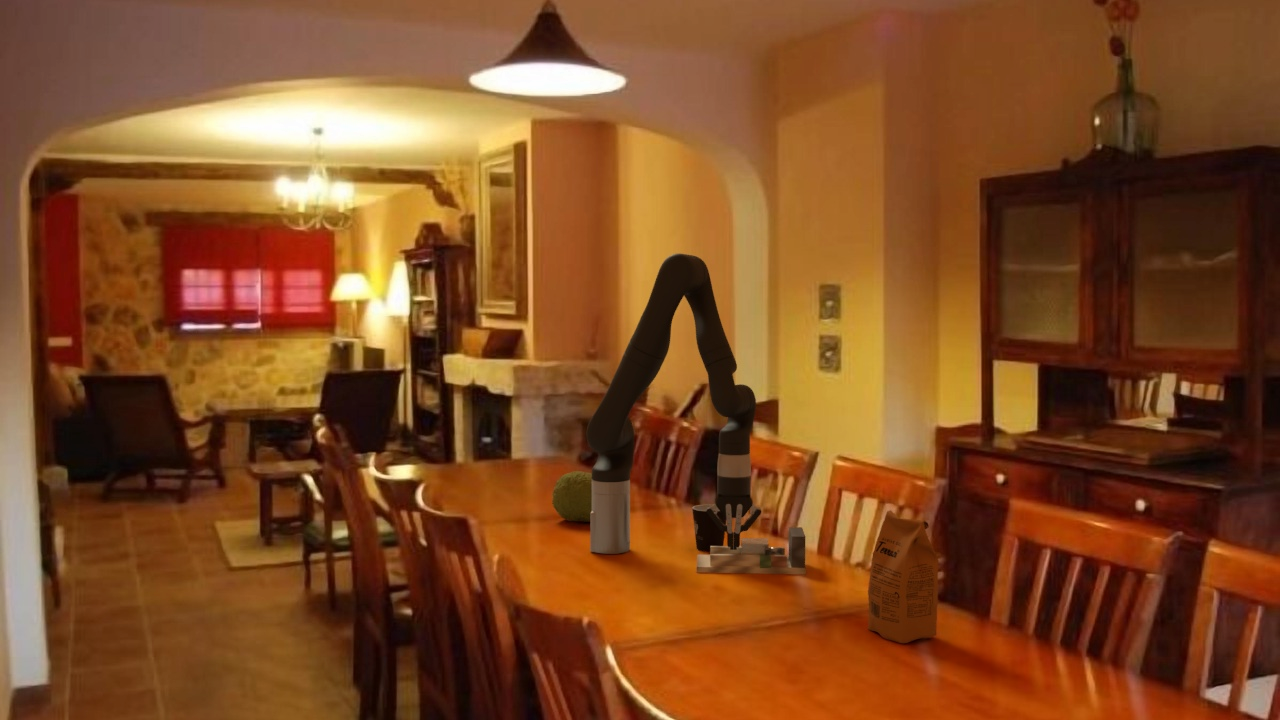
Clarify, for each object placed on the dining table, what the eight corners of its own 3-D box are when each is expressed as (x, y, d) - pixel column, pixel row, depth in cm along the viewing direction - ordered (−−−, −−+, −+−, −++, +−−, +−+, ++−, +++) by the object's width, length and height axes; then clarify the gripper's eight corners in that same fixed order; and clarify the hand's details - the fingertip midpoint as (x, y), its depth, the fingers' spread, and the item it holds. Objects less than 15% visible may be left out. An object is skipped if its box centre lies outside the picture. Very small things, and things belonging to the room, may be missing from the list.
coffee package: (904, 622, 216) (906, 507, 215) (944, 641, 204) (946, 519, 203) (859, 627, 212) (860, 510, 211) (897, 647, 201) (899, 523, 199)
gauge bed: (696, 572, 254) (696, 535, 253) (697, 559, 266) (697, 524, 265) (805, 574, 252) (805, 537, 252) (801, 561, 264) (801, 526, 264)
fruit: (605, 514, 319) (622, 470, 313) (599, 543, 307) (616, 498, 300) (550, 496, 319) (565, 452, 312) (541, 524, 306) (557, 479, 299)
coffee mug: (725, 553, 272) (725, 512, 271) (689, 551, 274) (689, 510, 273) (731, 543, 283) (731, 503, 283) (696, 541, 285) (696, 501, 284)
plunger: (741, 566, 253) (742, 546, 253) (741, 557, 262) (741, 538, 262) (782, 567, 252) (782, 547, 252) (780, 557, 261) (780, 538, 261)
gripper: (704, 475, 254) (704, 552, 255) (764, 476, 254) (763, 553, 255) (704, 470, 262) (704, 545, 263) (762, 471, 261) (762, 546, 262)
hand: (733, 549), depth 259 cm, fingers closed
